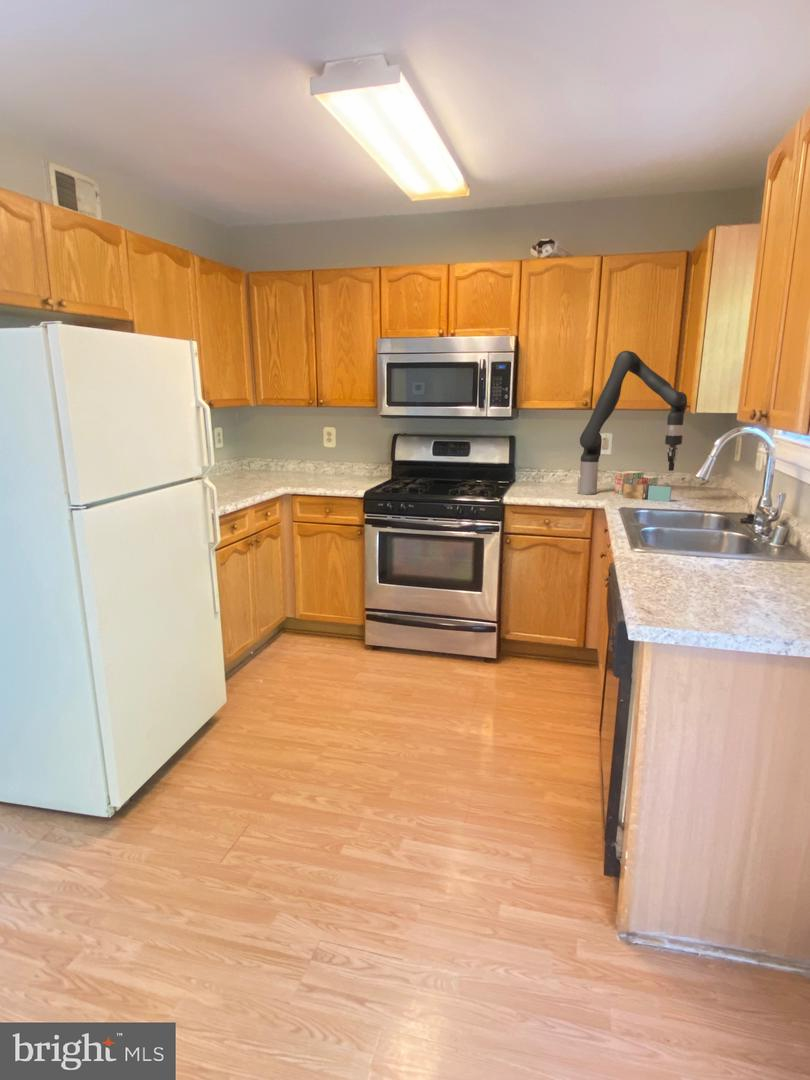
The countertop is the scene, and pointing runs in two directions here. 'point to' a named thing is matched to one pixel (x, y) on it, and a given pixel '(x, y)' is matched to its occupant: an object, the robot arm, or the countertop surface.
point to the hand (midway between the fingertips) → (671, 470)
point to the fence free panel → (659, 493)
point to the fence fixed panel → (635, 491)
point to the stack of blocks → (633, 480)
